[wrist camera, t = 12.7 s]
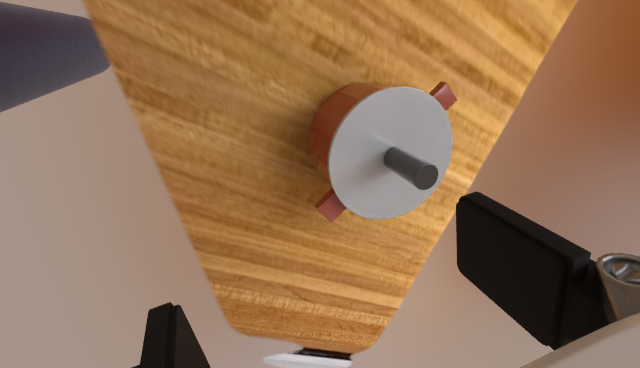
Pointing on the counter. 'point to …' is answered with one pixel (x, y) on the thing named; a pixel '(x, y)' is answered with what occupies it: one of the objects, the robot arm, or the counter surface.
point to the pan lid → (390, 152)
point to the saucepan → (329, 122)
